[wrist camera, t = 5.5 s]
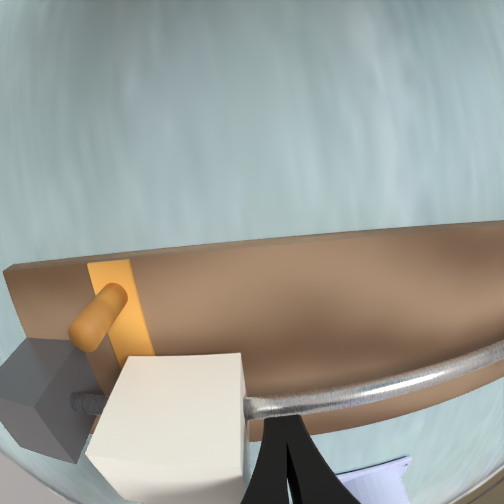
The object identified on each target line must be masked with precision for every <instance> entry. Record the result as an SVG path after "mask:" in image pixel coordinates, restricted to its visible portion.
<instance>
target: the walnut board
mask: <svg viewBox="0 0 504 504" xmlns="http://www.w3.org/2000/svg"><path fill="white" fill-rule="evenodd" d="M3 275H4V278H5V281H6V284H7V287H8V290H9V293H10V296H11V299H12V301H13V304H14V307H15V309H16V312H17V315H18V317H19V320H20V322H21V325H22V327H23V329H24V332H25V334H26V336H27V337H28V338H42V339H59V340H71V342H72V343H73V344H74V345H75V346H76V347H77V348H78V349H80V350H82V351H84V352H85V354H86V357H87V359H88V361H89V364H90V366H91V368H92V370H93V372H94V375H95V377H96V379H97V381H98V383H99V385H100V387H101V389H102V391H103V393H104V395H105V396H110V395H111V393H112V391H113V388H114V386H115V384H116V382H117V380H118V378H119V376H120V373H121V371H122V369H123V367H124V365H125V363H126V361H127V359H128V357H129V356H190V355H213V354H230V353H241V359H242V367H243V374H244V381H245V387H246V394H247V397H256V396H268V395H278V394H287V393H296V392H304V391H311V390H318V389H324V388H331V387H337V386H342V385H348V384H353V383H359V382H364V381H368V380H373V379H378V378H382V377H387V376H391V375H395V374H399V373H403V372H407V371H411V370H415V369H418V368H422V367H426V366H429V365H433V364H436V363H439V362H442V361H446V360H449V359H452V358H455V357H458V356H461V355H464V354H467V353H470V352H473V351H476V350H478V349H481V348H484V347H486V346H489V345H492V344H494V343H497V342H499V341H502V340H504V220H502V221H486V222H471V223H456V224H442V225H428V226H414V227H401V228H388V229H375V230H362V231H350V232H338V233H326V234H314V235H302V236H291V237H279V238H268V239H257V240H246V241H235V242H224V243H213V244H203V245H192V246H182V247H172V248H162V249H152V250H142V251H132V252H122V253H113V254H103V255H94V256H85V257H75V258H66V259H57V260H48V261H39V262H31V263H22V264H13V265H11V266H10V267H8V268H7V269H5V270H4V271H3ZM503 376H504V359H501V360H499V361H497V362H495V363H492V364H490V365H488V366H485V367H483V368H480V369H478V370H475V371H473V372H470V373H468V374H465V375H462V376H460V377H457V378H454V379H451V380H448V381H445V382H443V383H440V384H437V385H433V386H430V387H427V388H424V389H421V390H417V391H414V392H410V393H407V394H403V395H399V396H396V397H392V398H388V399H384V400H380V401H376V402H371V403H367V404H362V405H357V406H352V407H347V408H342V409H337V410H331V411H325V412H319V413H312V414H305V415H301V417H302V419H303V422H304V424H305V427H306V429H307V431H308V433H309V435H317V434H323V433H329V432H334V431H340V430H345V429H350V428H355V427H359V426H364V425H368V424H372V423H376V422H380V421H384V420H388V419H392V418H395V417H399V416H402V415H406V414H409V413H412V412H416V411H419V410H422V409H425V408H428V407H431V406H434V405H437V404H439V403H442V402H445V401H448V400H450V399H453V398H456V397H458V396H461V395H463V394H466V393H468V392H470V391H473V390H475V389H478V388H480V387H482V386H484V385H487V384H489V383H491V382H493V381H495V380H497V379H499V378H501V377H503ZM100 417H101V416H98V415H97V417H96V419H95V421H94V424H93V426H92V428H91V430H90V433H91V434H93V433H94V431H95V429H96V426H97V424H98V422H99V420H100ZM263 429H264V419H259V420H249V439H250V442H255V441H262V437H263Z"/></svg>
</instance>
